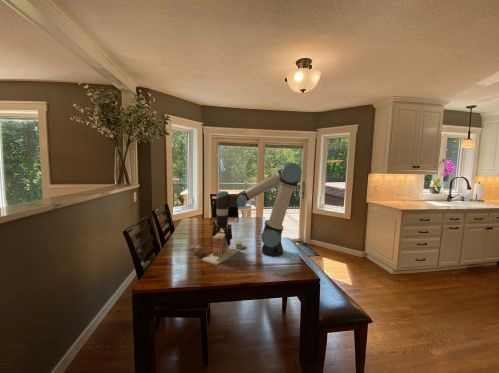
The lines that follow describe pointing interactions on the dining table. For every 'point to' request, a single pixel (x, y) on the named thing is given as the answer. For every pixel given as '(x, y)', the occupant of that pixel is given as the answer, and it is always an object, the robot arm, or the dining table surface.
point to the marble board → (218, 260)
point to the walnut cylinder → (201, 251)
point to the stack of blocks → (219, 244)
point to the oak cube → (194, 250)
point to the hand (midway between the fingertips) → (222, 247)
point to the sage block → (239, 245)
